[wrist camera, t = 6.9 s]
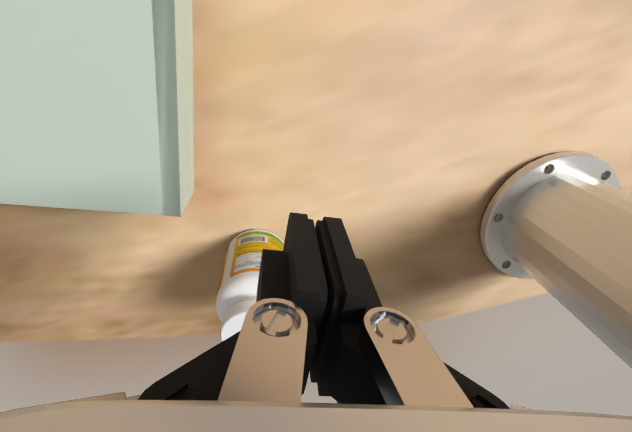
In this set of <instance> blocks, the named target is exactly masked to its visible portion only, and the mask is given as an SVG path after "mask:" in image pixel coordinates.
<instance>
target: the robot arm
mask: <svg viewBox="0 0 632 432" xmlns="http://www.w3.org/2000/svg"><path fill="white" fill-rule="evenodd" d="M481 243H482V248H483V250H484V252H485V254H486V256H487V258H488V259H489V260H490V261H491V262H492V263H493V264H494V265H495V266H496V267H497V268H498V269H499V270H500V271H502V272H504V273H506V274H508V275H510V276H513V277H517V278H525V279H535V280H536V281H537V282H538V283H539V284H540V285H541V286H543V287H544V288H545V289H546V290H547V291H548V292H549V293H550V294H551V295H552V296H553V297H554V298H556V299H557V300H558V301H559V302H560V303H561V304H562V305H563V306H564V307H565V308H567V309H568V310H569V311H570V312H571V313H572V314H573V315H574V316H575V317H576V318H577V319H578V320H579V321H581V322H582V323H583V324H584V325H585V326H586V327H587V328H588V329H589V330H590V331H591V332H593V333H594V334H595V335H596V336H597V337H598V338H599V339H600V340H601V341H602V342H604V344H606V345H607V346H608V347H609V348H610V349H611V350H612V351H613V352H614V353H615V354H616V355H618V356H619V357H620V358H621V359H622V360H623V361H624V362H625V363H626V364H627V365H628V366H629V367H630V368H632V194H631V193H628V192H626V191H624V190H622V188H621V184H620V179H619V177H618V175H617V174H616V172H615V170H614V169H613V168H612V167H611V166H610V165H609V164H608V163H607V162H605V161H603V160H601V159H600V158H598V157H595V156H592V155H589V154H586V153H582V152H574V151H569V152H558V153H554V154H551V155H547V156H544V157H541V158H539V159H537V160H535V161H533V162H530V163H529V164H527V165H526V166H524V167H523V168H521V169H520V170H518V171H517V172H516V173H514V174H513V175H512V176H511V177H510V178H509V179H507V180H506V181H505V183H504V184H503V185H502V186H501V187H500V188H499V189H498V191H497V192H496V193H495V195H494V196H493V198H492V199H491V201H490V203H489V204H488V207H487V209H486V211H485V214H484V216H483V220H482V225H481ZM309 371H310V378H311V382H317V384H318V393H319V396H332V397H333V398H334V399H335V400H336V401H337V404H334V403H331V404H330V403H301V395H302V394H303V393H304V390H305V386H306V383H307V379H308V375H309ZM0 432H632V417H631V416H620V415H608V414H596V413H583V412H564V411H545V410H533V409H529V408H525V407H521V406H517V405H513V404H511V405H510V407H508V406H507V405H506V404H505V403H504V402H503V401H501V400H500V399H499V398H498V397H496V396H495V395H494V394H492V393H491V392H489V391H487V390H486V389H484V388H483V387H481V386H480V385H478V384H477V383H475V382H473V381H472V380H470V379H469V378H467V377H466V376H464V375H463V374H461V373H459V372H458V371H456V370H455V369H453V368H452V367H450V366H449V365H447V364H445V363H444V362H442V360H441V359H440V357H439V356H438V354H437V353H436V351H435V350H434V349H433V347H432V346H431V344H430V343H429V341H428V340H427V338H426V337H425V335H424V334H423V332H422V331H421V329H420V328H419V326H418V325H417V324H416V323H415V322H414V321H413V319H411V318H410V317H409V316H407V315H406V314H404V313H402V312H400V311H398V310H396V309H392V308H389V307H382V305H381V302H380V300H379V297H378V295H377V292H376V290H375V287H374V285H373V282H372V280H371V277H370V275H369V272H368V270H367V267H366V265H365V263H364V261H363V260H362V259H356V257H355V255H354V252H353V249H352V247H351V244H350V241H349V239H348V236H347V233H346V230H345V228H344V225H343V222H342V220H341V219H339V218H331V217H324V218H323V220H322V221H320V220H317V222H316V226H314V222H313V220H312V219H308V216H307V214H299V213H290V215H289V219H288V225H287V231H286V237H285V242H284V248H283V251H280V250H270V249H263V250H262V256H261V263H260V270H259V278H258V286H257V297H256V303H254V304H253V305H252V306H251V307H250V308H249V309H248V311H247V313H246V316H245V319H244V322H243V325H242V328H241V331H239V332H237V333H236V334H234V335H232V336H231V337H229V338H227V339H226V340H224V341H222V342H221V343H219V344H218V345H216V346H214V347H213V348H211V349H209V350H208V351H206V352H204V353H203V354H201V355H199V356H198V357H196V358H195V359H193V360H191V361H190V362H188V363H186V364H185V365H183V366H181V367H180V368H178V369H176V370H175V371H173V372H171V373H170V374H168V375H167V376H165V377H163V378H162V379H160V380H158V381H157V382H155V383H154V384H152V385H151V386H150V387H149V388H147V389H146V390H145V391H144V392H143V393H142V395H137V396H131V397H126V395H125V392H120V393H114V394H107V395H101V396H95V397H88V398H83V399H76V400H70V401H63V402H57V403H51V404H45V405H39V406H32V407H26V408H20V409H14V410H10V411H6V412H1V413H0Z"/></svg>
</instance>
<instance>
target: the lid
mask: <svg viewBox="0 0 632 432" xmlns="http://www.w3.org/2000/svg"><path fill="white" fill-rule="evenodd" d="M193 192H194V129H193V37H192V0H0V203H1V204H15V205H28V206H42V207H56V208H69V209H83V210H96V211H110V212H124V213H137V214H151V215H165V216H178V217H181V215H182V213H183V211H184V210H185V208H186V206H187V204H188V202H189V200H190V198H191V196H192V194H193Z"/></svg>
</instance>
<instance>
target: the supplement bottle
mask: <svg viewBox="0 0 632 432" xmlns="http://www.w3.org/2000/svg"><path fill="white" fill-rule="evenodd" d="M283 248H284V242H283V241H282V240H281V238H279V237H278V236H277V235H276V234H274V233H272V232H270V231H266V230H260V229H253V230H248V231H245V232H242V233H240V234H239V235H237V236H236V237H235V238H234V239H233V240H232V241H231V243H230V244H229V246H228V249H227V252H226V257H225V262H224V266H223V271H222V276H221V280H220V285H219V289H218V293H217V299H216V311H217V314H218V317H219V319H220V321H221V322H222V326H221V334H220V335H221V340H222V341H224V340H226V339H227V338H229V337H231V336H232V335H234V334H236V333H237V332H239V331H241V328H242V325H243V322H244V319H245V316H246V313H247V311H248V309H249V308H250V307H251V306H252V305H253V304H254V303H256V297H257V286H258V278H259V270H260V263H261V256H262V250H263V249H270V250H280V251H283Z"/></svg>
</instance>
